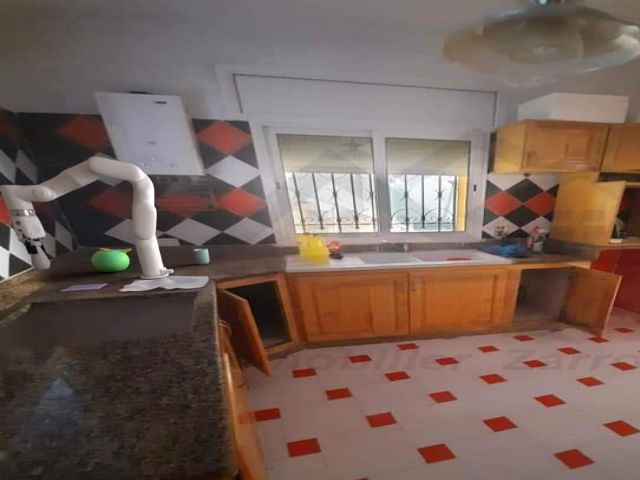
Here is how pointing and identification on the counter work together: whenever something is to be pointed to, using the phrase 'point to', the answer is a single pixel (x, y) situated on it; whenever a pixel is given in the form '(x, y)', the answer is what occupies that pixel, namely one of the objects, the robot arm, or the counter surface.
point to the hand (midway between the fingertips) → (37, 252)
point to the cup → (201, 256)
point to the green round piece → (111, 260)
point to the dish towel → (84, 287)
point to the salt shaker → (39, 258)
